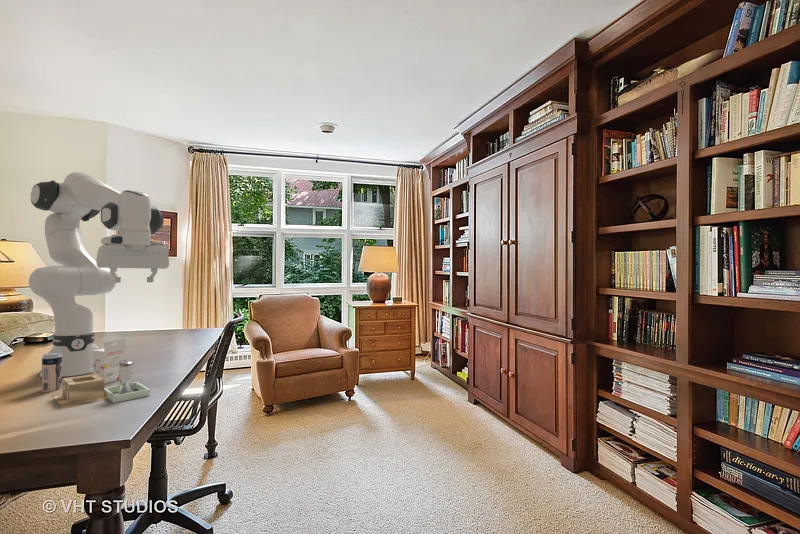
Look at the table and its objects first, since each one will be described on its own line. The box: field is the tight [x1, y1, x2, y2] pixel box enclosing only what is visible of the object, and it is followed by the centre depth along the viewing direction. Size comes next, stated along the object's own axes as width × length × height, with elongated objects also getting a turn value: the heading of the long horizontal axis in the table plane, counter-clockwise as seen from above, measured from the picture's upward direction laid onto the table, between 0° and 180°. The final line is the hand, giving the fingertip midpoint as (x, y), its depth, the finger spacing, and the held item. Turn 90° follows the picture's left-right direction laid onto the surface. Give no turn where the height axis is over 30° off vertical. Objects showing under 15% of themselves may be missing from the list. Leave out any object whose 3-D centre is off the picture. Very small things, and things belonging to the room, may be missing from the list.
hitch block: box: [51, 373, 109, 409], centre depth 122 cm, size 16×12×6 cm
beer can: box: [41, 353, 63, 393], centre depth 128 cm, size 5×5×12 cm
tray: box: [104, 381, 151, 403], centre depth 124 cm, size 11×9×3 cm
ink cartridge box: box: [92, 337, 127, 385], centre depth 139 cm, size 9×5×15 cm, turn 168°
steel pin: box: [118, 360, 135, 395], centre depth 124 cm, size 4×4×10 cm
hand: (134, 282), depth 136 cm, fingers open, 8 cm apart
